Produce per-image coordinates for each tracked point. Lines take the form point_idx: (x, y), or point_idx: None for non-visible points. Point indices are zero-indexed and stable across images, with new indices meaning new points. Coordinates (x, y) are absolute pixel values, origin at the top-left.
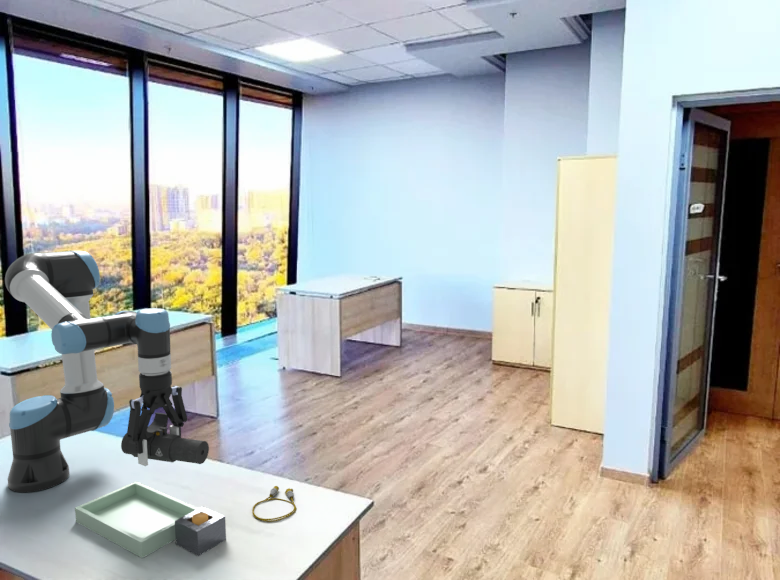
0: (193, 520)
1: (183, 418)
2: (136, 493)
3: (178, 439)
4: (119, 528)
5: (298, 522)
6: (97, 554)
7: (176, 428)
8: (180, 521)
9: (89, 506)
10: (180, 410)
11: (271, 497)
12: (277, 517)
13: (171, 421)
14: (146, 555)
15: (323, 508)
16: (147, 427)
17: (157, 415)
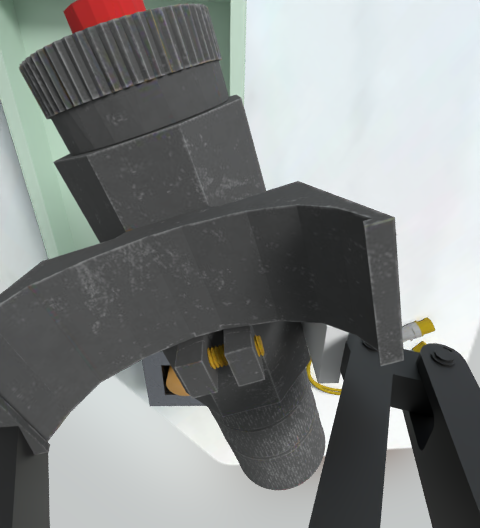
0: (166, 382)
1: (410, 423)
2: (230, 6)
3: (247, 419)
4: (49, 237)
5: (331, 410)
6: (9, 214)
7: (318, 382)
8: (148, 361)
9: None
10: (430, 503)
11: None
12: (323, 390)
13: (347, 366)
14: None
15: (391, 413)
16: (47, 476)
17: (361, 242)
